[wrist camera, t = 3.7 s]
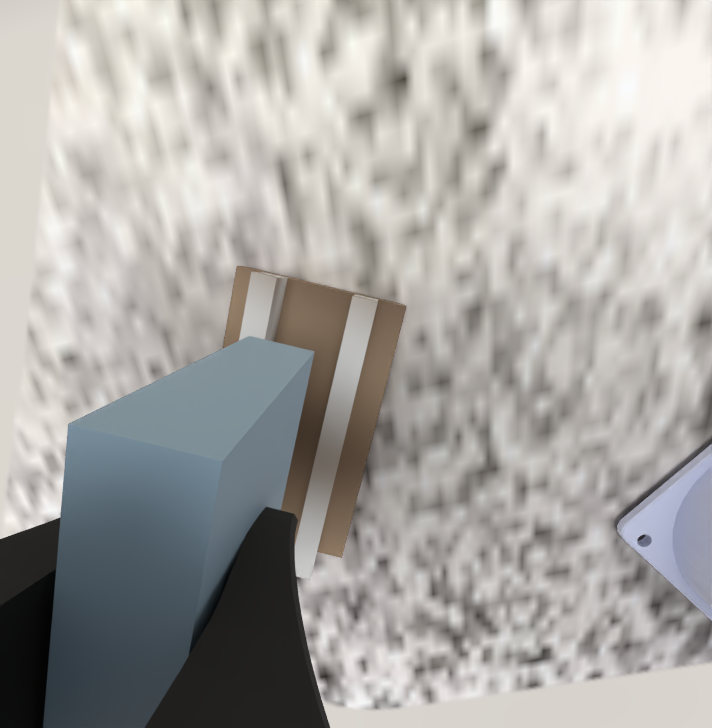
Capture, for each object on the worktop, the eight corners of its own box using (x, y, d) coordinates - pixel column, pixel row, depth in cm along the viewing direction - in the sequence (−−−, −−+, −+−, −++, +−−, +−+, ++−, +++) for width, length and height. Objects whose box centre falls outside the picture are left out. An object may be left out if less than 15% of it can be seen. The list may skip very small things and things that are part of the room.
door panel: (256, 625, 12) (134, 968, 6) (200, 612, 12) (25, 940, 6) (314, 351, 10) (222, 461, 4) (249, 335, 10) (68, 424, 4)
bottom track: (245, 266, 16) (219, 263, 13) (404, 305, 16) (409, 309, 13) (202, 507, 18) (173, 546, 15) (343, 542, 18) (337, 586, 15)
